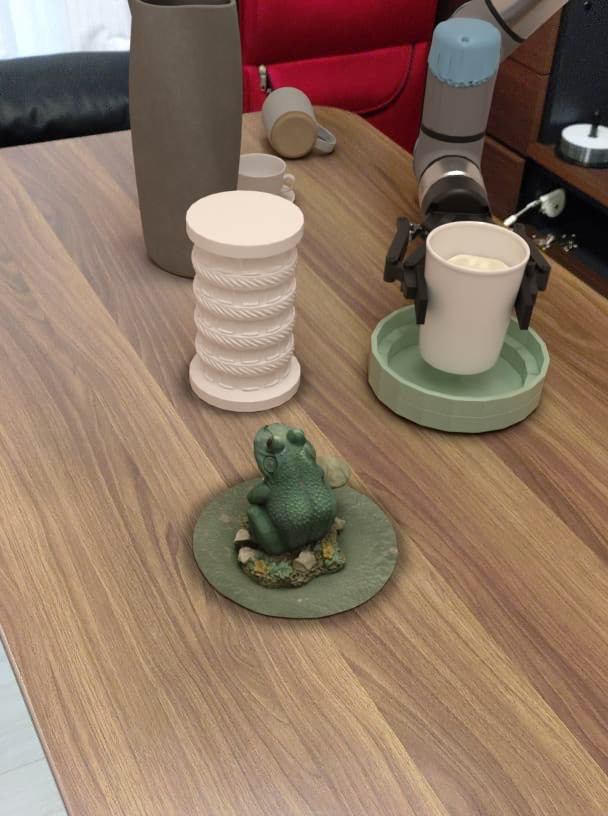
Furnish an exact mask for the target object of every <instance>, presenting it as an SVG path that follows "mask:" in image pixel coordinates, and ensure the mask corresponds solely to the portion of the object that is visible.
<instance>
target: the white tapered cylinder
mask: <svg viewBox="0 0 608 816" xmlns="http://www.w3.org/2000/svg"><path fill="white" fill-rule="evenodd" d="M508 229H509V228H506V227H503V226H500V225H498V226H497V225H494V224H489V223H484V222H475V221H460V222H452V223H448V224H444V225H441V226H439V227H437V228H435V229H434V230H433V231H431V232H430V234H429V235H428V237H427V240H426V259H425V270H424V276H425V280H426V286H427V294H428V304H427V311H426V317H425V324H424V325H421V324H420V330H419V352H420V354H421V356H422V358H423V359H424V360H425V361H426V362H427V363H428V364H430V365H431V366H433V367H435V368H437V369H439V370H441V371H444V372H448V373H452V374H459V375H472V374H478V373H482V372H485V371H487V370H489V369H490V368H492V367H493V366H494V365H495V364H496V362H497V361H498V358H499V356H500V353H501V349H502V346H503V343H504V340H505V336H506V333H507V329H508V326H509V323H510V319H511V316H513V312H514V310H515V307H514V305H515V302H516V299H517V295H518V292H519V288H520V285H521V281H522V278H523V275H524V271H525V268H526V265H527V262H528V260H529V257H530V249H529V246H528V244H527V243H526V242H525V240H524V239H523V238H521V237H520V236H519V235H517V234H516V233H514V232H512V231H510V230H508Z"/></svg>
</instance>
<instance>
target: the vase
mask: <svg viewBox="0 0 608 816" xmlns="http://www.w3.org/2000/svg"><path fill="white" fill-rule="evenodd" d="M127 3H128V8H129V13H130V16H131V18H130V19H131V21H130V36H129V37H130V38H129V58H128V60H129V62H128V100H129V101H128V105H129V106H128V107H129V122H130V123H129V124H130V136H131V137H130V138H131V145H132V149H131V150H132V156H133V158H132V159H133V167H134V175H135V182H136V191H137V198H138V205H139V214H140V221H141V222H140V223H141V229H142V235H143V243H144V245H145V250H146V252H147V253H148V255H149V257H150V258H151V260H152V261H153V263H155V264H156V265H157V266H158V267H159V268H162V269H163V270H165V271H167V272H169V273H171V274H174V275H177V276H181V277H185V278H191V279H194V277H195V275H196V272H195V269H194V267H193V263H192V259H191V254H192V250H193V246H194V243H193V242H192V241H191V240H190V238H189V236H188V234H187V231H186V215H187V211H188V210H189V208H190V207H191V205H192V204H194V203H195V202H197V201H198V200H200V199H202V198H204V197H207V196H209V195H212V194H217V193H221V192H227V191H237V183H238V173H239V163H240V156H241V150H242V149H241V148H242V135H243V132H242V131H243V111H244V110H243V107H244V106H243V104H244V101H243V100H244V98H243V97H244V95H243V94H244V92H243V91H244V90H243V84H244V83H243V61H242V46H241V34H240V25H239V17H238V9H237V7H238V6H237V1H236V0H127Z"/></svg>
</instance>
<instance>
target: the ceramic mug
mask: <svg viewBox="0 0 608 816" xmlns="http://www.w3.org/2000/svg"><path fill="white" fill-rule="evenodd" d="M260 114H261V115H260V117H261V122H262V125H263V128H264V130H265V134H266V135H267V139H268V142H269V144H270V146H271V147H272V148H273V150H274V151H275V152H276V153H278V154H279V155H280V156H282V157H284V158H287V159H297V158H301V157H304V156H305V155H307V154H308V153H310V152H311V151H312V149H315V150H317V151H319V152H322V153H326V154H328V153H329V154H330V153H331V152H333V150H334V148H335V146H336V145H337V139H336V137H335V136H334V134H332V133H331V132H330V131H329V130H328V129H327V128H325V126H322V125H321V124H320V123H318V122H317V119H316V117H315V112H314V108H313V105H312V103H311V101H310V99H309V97H308V96H307V95H306V93H304V92H303V91H302V90H300V89H298V88H296V87H292V86H285V87H280V88H276V89H275V90H273V91H272V92H270V93H269V95H267V97H266V98H265V100H264V102H263V104H262V107H261V112H260Z"/></svg>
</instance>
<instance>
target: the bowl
mask: <svg viewBox="0 0 608 816" xmlns="http://www.w3.org/2000/svg"><path fill="white" fill-rule="evenodd" d="M419 330H420V324H416V315H415V306H414V303H413V304H410V305H406V306H404V307H401V308H398V309H395V310H393V311H391V313H389V314H388V315H386V316H385V317H384V318H382V319H381V320H379V322H378V323H377V324H376V325H375V328H374V329H373V331H372V334H371V335H370V343H369V353H368V361H367V378H368V381H367V382H368V384H369V386H370V387H371V390H372V391H373V393H374V394H375V396H376V397H377V399H378V400H379V401H380V402H382V404H384V405H385V406H386V407H388V409H390V410H391V411H392V412H393V413H395V414H396V415H398V416H401V417H403V418H405V419H407V420H409V421H411V422H413V423H416V424H418V425H420V426H423V427H427V428H431V429H436V430H440V431H444V432H449V433H451V432H452V433H473V434H476V433H477V434H478V433H484V432H485V433H486V432H492V431H498V430H502V429H503V430H504V429H506V428H508V427H510V426H512V425H515V424H517V423H519V422H522V421H524V420H525V419H526V418H527V417H528V416H529V415H530V414H531V413H532V412H534V410H535V409H537V407H538V406H539V403H540V400H541V396H542V392H543V389H544V385H545V383H546V378H547V375H548V370H549V368H550V363H551V359H550V355H549V352H548V348H547V344H546V343H545V342H544V340H543V339H542V337H540V336H539V334H538V333H537V332H536V331H535V329H533V328H532V327H530V326H529V328H528V330H520V328H519V323H518V319H517V317H515V316H513V315H512V316H511V319H510V323H509V326H508V329H507V333H506V336H505V340H504V343H503V346H502V349H501V353H500V356H499V358H498V361H497V362H496V364H495V365H494V366H493V367H492V368H490V369H489V370H487V371H485V372H482V373H478V374H472V375H459V374H452V373H448V372H444V371H441V370H439V369H437V368H435V367H433V366H431V365H430V364H428V363H427V362H426V361H425V360H424V359H423V358H422V356H421V354H420V352H419Z"/></svg>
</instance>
